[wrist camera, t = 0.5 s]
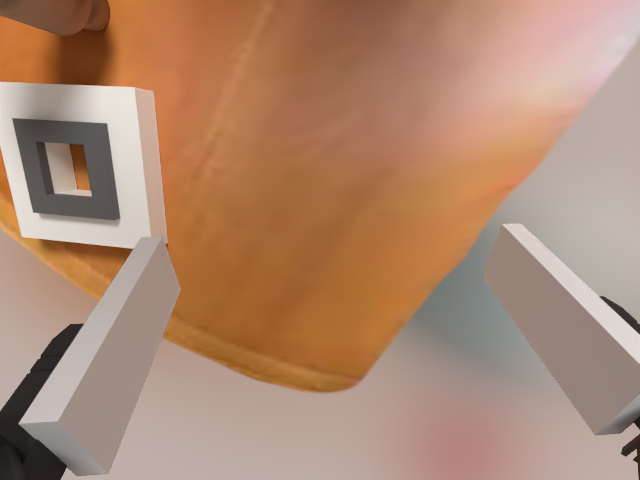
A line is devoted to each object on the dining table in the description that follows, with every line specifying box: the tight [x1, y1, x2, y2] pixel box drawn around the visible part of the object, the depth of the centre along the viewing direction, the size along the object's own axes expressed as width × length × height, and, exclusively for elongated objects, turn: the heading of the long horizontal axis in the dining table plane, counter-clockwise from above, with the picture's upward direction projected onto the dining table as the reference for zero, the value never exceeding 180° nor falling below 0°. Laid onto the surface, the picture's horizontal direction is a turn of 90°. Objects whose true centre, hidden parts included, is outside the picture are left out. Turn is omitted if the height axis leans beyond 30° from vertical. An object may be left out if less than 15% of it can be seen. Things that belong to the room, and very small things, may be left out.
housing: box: [0, 82, 168, 249], centre depth 36 cm, size 17×17×4 cm
